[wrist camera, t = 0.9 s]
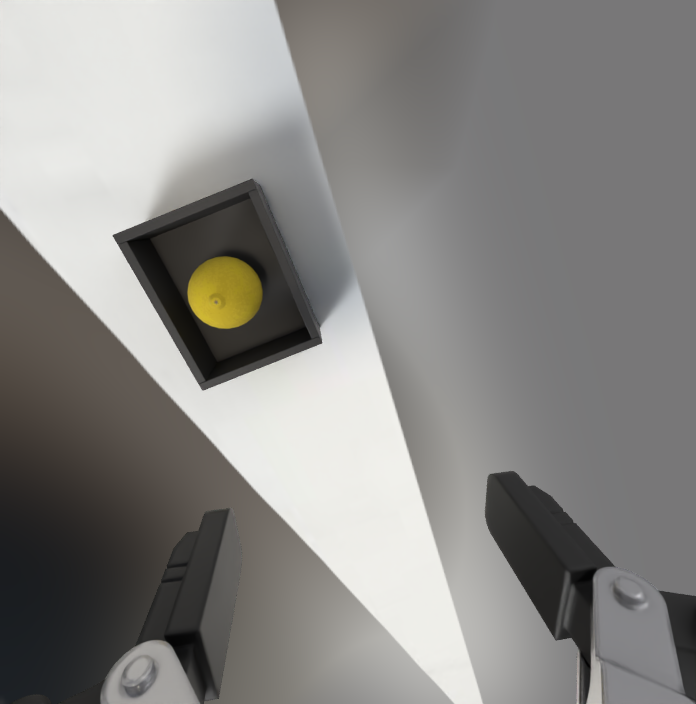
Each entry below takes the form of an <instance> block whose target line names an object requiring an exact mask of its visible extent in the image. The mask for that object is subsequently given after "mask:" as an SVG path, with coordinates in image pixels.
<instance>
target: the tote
mask: <svg viewBox="0 0 696 704" xmlns="http://www.w3.org/2000/svg"><path fill="white" fill-rule="evenodd" d="M113 237H114V239H115V241H116V242H117V244H119V245H118V246H119V247H120V249H121V251H122V253H123V254H124V256H125V258H126V260H127V261H128V263H129V265H130V266H131V268H132V270H133V272H134V273H135V275H136V277H137V279H138V280H139V282H140V284H141V285H142V287H143V289H144V291H145V292H146V294H147V296H148V298H149V299H150V301H151V303H152V304H153V306H154V308H155V310H156V311H157V313H158V315H159V317H160V318H161V320H162V322H163V323H164V325H165V327H166V329H167V330H168V332H169V334H170V336H171V337H172V339H173V341H174V342H175V344H176V346H177V348H178V349H179V351H180V353H181V355H182V356H183V358H184V360H185V361H186V363H187V365H188V367H189V368H190V370H191V372H192V374H193V375H194V377H195V379H196V380H197V382H198V384H199V385H200V387H201V389H202V390H206V389H208V388H211V387H213V386H216V385H218V384H221V383H223V382H226V381H228V380H231V379H233V378H236V377H238V376H241V375H244V374H246V373H249V372H251V371H254V370H256V369H259V368H261V367H264V366H266V365H269V364H271V363H274V362H276V361H279V360H281V359H284V358H286V357H289V356H291V355H294V354H296V353H299V352H301V351H304V350H307V349H309V348H312V347H314V346H317V345H319V344H322V338H321V332H320V327H319V325H318V322H317V320H316V318H315V315H314V313H313V310H312V308H311V306H310V303H309V301H308V299H307V296H306V294H305V291H304V289H303V287H302V284H301V282H300V280H299V277H298V275H297V272H296V270H295V268H294V265H293V263H292V261H291V258H290V256H289V253H288V251H287V249H286V246H285V244H284V241H283V239H282V237H281V234H280V232H279V230H278V227H277V225H276V222H275V220H274V218H273V215H272V213H271V211H270V208H269V206H268V203H267V201H266V199H265V196H264V194H263V192H262V189H261V187H260V185H259V184H258V183H257V182H255V181H254V180H253V179H251V180H248V181H246V182H243V183H241V184H238V185H236V186H233V187H231V188H228V189H226V190H223V191H221V192H218V193H216V194H213V195H211V196H208V197H206V198H203V199H201V200H199V201H196V202H194V203H191V204H189V205H186V206H184V207H181V208H179V209H176V210H174V211H171V212H169V213H166V214H164V215H161V216H159V217H156V218H154V219H151V220H149V221H147V222H144V223H142V224H139V225H137V226H134V227H132V228H129V229H127V230H124V231H122V232H119V233H117V234H114V235H113ZM223 256H228V257H233V258H237V259H239V260H242V261H244V262H246V263H247V264H248V265H249V266H251V267H252V268H253V269H254V271H255V272H256V273H257V275H258V277H259V279H260V281H261V284H262V289H263V296H262V302H261V305H260V308H259V310H258V311H257V313H256V314H255V316H254V317H253V318H252V319H250V320H249V321H248V322H247V323H245V324H243V325H241V326H239V327H235V328H230V329H224V328H216V327H213V326H210V325H208V324H206V323H204V322H203V321H202V320H201V319H199V318H198V317H197V316H196V314H195V313H194V312H193V310H192V308H191V306H190V304H189V301H188V293H187V292H188V284H189V281H190V279H191V276H192V274H193V273H194V271H195V270H196V269H197V268H198V267H199V266H200V265H201V264H203V263H204V262H206V261H207V260H209V259H212V258H215V257H223Z"/></svg>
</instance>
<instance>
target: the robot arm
mask: <svg viewBox="0 0 696 704" xmlns="http://www.w3.org/2000/svg"><path fill="white" fill-rule="evenodd" d="M485 517H486V522H487V526H488V529H489V531H490V533H491V535H492V536H493V538H494V540H495V541H496V543H497V545H498V546H499V548H500V550H501V551H502V553H503V554H504V556H505V558H506V559H507V561H508V563H509V564H510V566H511V568H512V569H513V571H514V573H515V574H516V576H517V578H518V579H519V581H520V582H521V584H522V586H523V587H524V589H525V590H526V592H527V594H528V595H529V597H530V599H531V600H532V602H533V604H534V605H535V607H536V609H537V610H538V612H539V614H540V615H541V617H542V619H543V620H544V622H545V623H546V625H547V627H548V629H549V630H550V632H551V633H552V635H553V637H554V638H555V640H562V639H567V638H572V639H573V641H574V642H575V643H576V645H577V647H578V653H577V685H576V704H696V596H690V595H684V594H676V593H670V592H664V591H658V590H657V589H656V588H655V587H654V586H653V585H651V583H649V582H648V581H647V580H645V579H644V578H643V577H641V576H639V575H637V574H635V573H633V572H631V571H629V570H626V569H623V568H618V567H615V566H614V565H613V564H612V563H611V562H610V560H609V559H608V558H607V557H606V556H605V555H604V554H603V553H602V552H601V551H600V549H599V548H598V547H597V546H596V545H595V544H594V543H593V542H592V541H591V540H590V538H589V537H588V536H587V535H586V534H585V533H584V532H583V531H582V530H581V529H580V527H579V526H577V524H576V523H573V520H572V519H571V518H570V517H569V516H568V514H567V513H566V512H563V509H562V508H561V507H560V506H559V504H558V503H557V502H556V501H555V500H554V499H553V498H552V497H551V496H550V495H548V494H547V493H545V492H543V491H542V490H540V489H539V488H537V487H536V486H527V485H526V483H525V482H524V481H523V480H522V479H521V478H520V477H519V475H518V474H517V473H515V472H514V471H509V472H501V473H494V474H490V475H489V476H488V480H487V493H486V506H485ZM241 566H242V549H241V543H240V539H239V534H238V529H237V524H236V520H235V515H234V511H233V509H232V508H226V509H219V510H211V511H206V512H205V514H204V516H203V519H202V522H201V525H200V528H199V531H195V532H187V533H186V534H185V536H184V537H183V538H182V539H181V541H180V542H179V543H178V544H177V545H176V546H175V548H174V549H173V552H172V554H171V557H170V559H169V562H168V564H167V569H166V570H165V572H164V575H163V577H162V580H161V584H160V585H159V587H158V590H157V593H156V595H155V598H154V601H153V603H152V605H151V608H150V610H149V613H148V615H147V618H146V621H145V623H144V626H143V628H142V631H141V633H140V636H139V639H138V641H137V643H136V645H135V647H134V648H133V649H131V650H130V651H128V652H127V653H126V654H125V655H123V656H122V657H121V658H120V659H119V660H118V661H117V663H116V664H115V665H114V666H113V667H112V669H111V671H110V672H109V673H108V675H107V677H106V679H104V680H103V681H102V682H100V683H98V684H97V685H95V686H93V687H91V688H89V689H87V690H85V691H83V692H81V693H79V694H77V695H74V696H72V697H71V698H68V699H66V700H64V701H62V702H60V703H58V704H204V701H208V700H213V699H219V694H220V688H221V682H222V676H223V671H224V665H225V659H226V653H227V647H228V642H229V636H230V630H231V625H232V619H233V613H234V607H235V601H236V596H237V590H238V585H239V579H240V573H241ZM11 704H52V703H51V701H50V700H49V699H48V698H47V697H46V696H43V695H29V696H26V697H23V698H20V699H18V700H16V701H14V702H12V703H11Z"/></svg>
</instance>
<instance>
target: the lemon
mask: <svg viewBox="0 0 696 704" xmlns="http://www.w3.org/2000/svg"><path fill="white" fill-rule="evenodd" d="M187 293H188V301H189V304H190V306H191V308H192V310H193V312H194V313H195V314H196V316H197V317H198V318H199V319H201V320H202V321H203V322H204V323H206V324H208V325H210V326H213V327H216V328H224V329H230V328H235V327H239V326H241V325H243V324H245V323H247V322H248V321H249V320H250V319H252V318H253V317H254V316H255V314H256V313H257V311H258V310H259V308H260V305H261V302H262V296H263V289H262V284H261V281H260V279H259V277H258V275H257V273H256V272H255V271H254V269H253V268H252V267H251V266H249V265H248V264H247V263H246V262H244V261H242V260H239V259H237V258H233V257H228V256H223V257H215V258H212V259H209V260H207V261H206V262H204V263H203V264H201V265H200V266H199V267H198V268H197V269H196V270H195V271H194V273H193V274H192V276H191V279H190V281H189V284H188V292H187Z"/></svg>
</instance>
